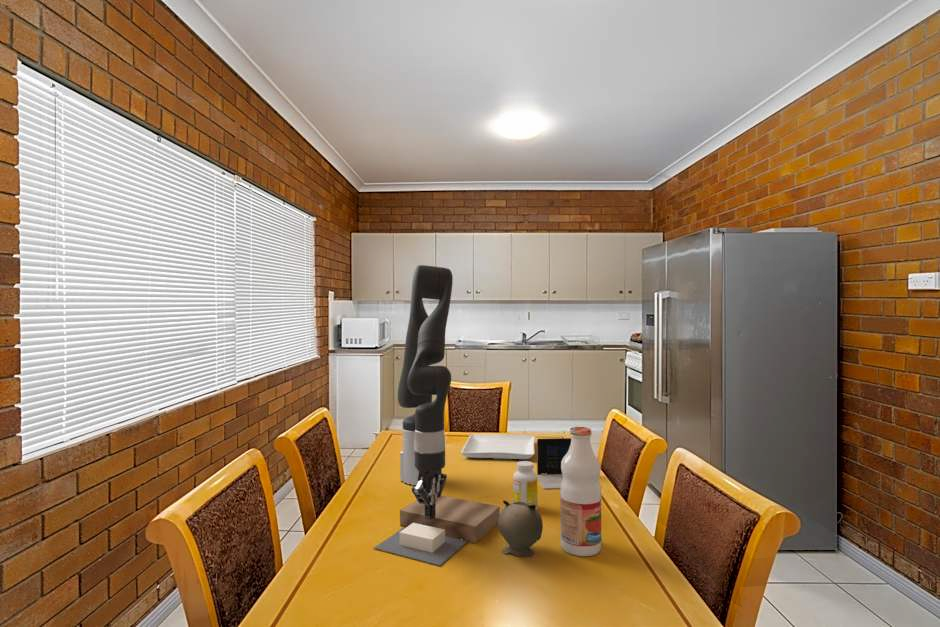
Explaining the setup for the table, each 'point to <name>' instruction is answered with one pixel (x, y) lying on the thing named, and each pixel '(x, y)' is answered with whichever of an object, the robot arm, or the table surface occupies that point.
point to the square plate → (499, 446)
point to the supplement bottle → (525, 484)
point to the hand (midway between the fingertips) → (430, 518)
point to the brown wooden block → (455, 517)
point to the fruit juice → (580, 497)
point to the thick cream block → (422, 537)
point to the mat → (428, 557)
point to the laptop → (551, 461)
